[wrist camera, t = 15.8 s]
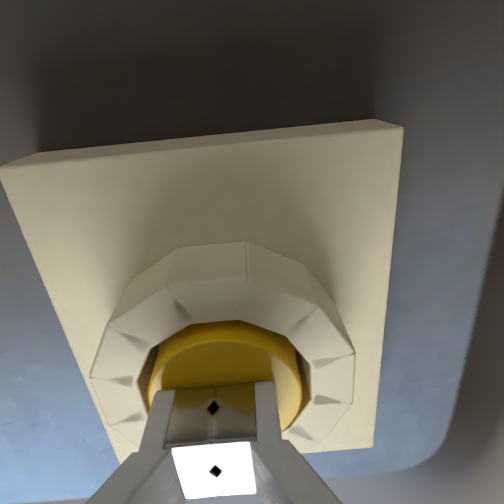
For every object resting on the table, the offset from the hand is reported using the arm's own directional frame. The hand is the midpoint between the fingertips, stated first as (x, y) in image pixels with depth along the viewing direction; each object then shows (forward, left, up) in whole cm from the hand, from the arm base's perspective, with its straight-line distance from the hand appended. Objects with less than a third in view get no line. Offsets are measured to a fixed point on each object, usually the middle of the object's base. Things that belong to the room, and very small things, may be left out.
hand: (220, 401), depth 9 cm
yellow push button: (0, 0, -2) cm, 2 cm away
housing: (0, 0, -4) cm, 4 cm away
